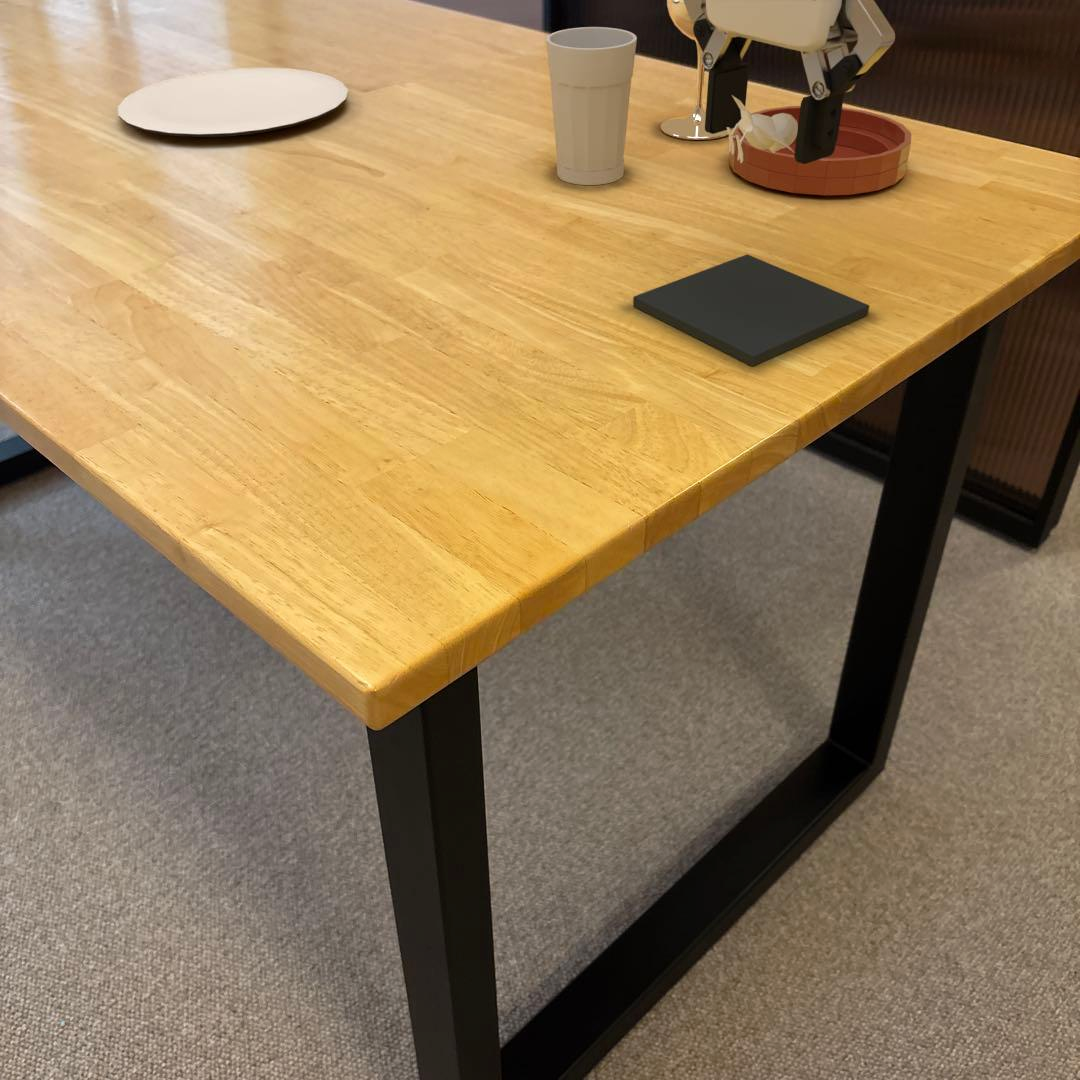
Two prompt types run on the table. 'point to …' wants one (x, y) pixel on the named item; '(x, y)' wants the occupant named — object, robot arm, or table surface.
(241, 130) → the plate
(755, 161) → the bowl
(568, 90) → the cup
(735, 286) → the coaster
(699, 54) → the wineglass
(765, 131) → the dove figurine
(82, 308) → the table surface
